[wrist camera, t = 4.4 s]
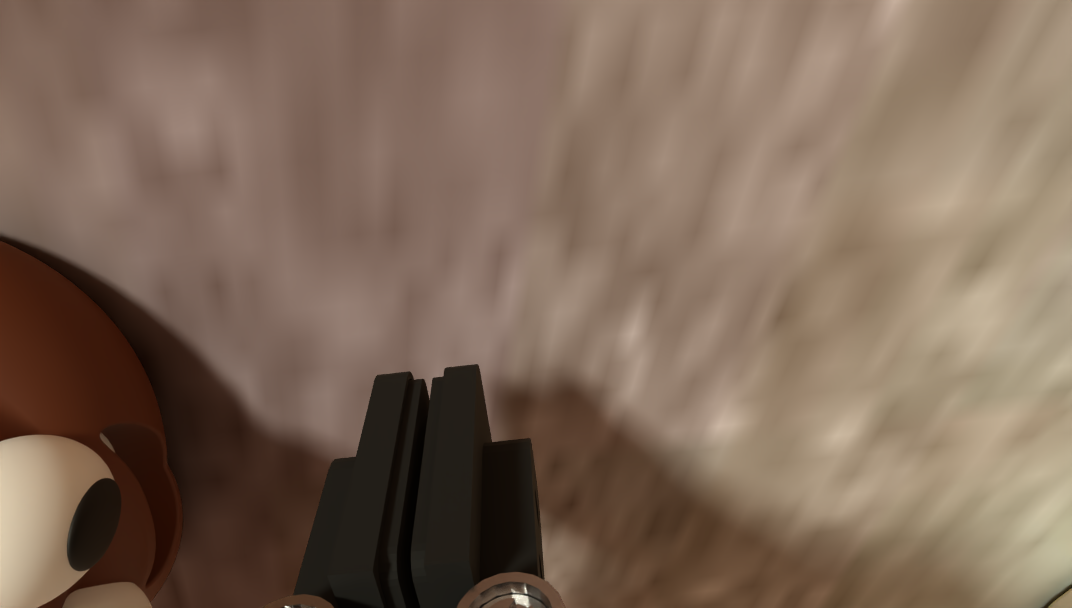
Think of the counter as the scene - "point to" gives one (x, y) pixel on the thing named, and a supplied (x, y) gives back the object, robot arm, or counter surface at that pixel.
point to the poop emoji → (77, 452)
